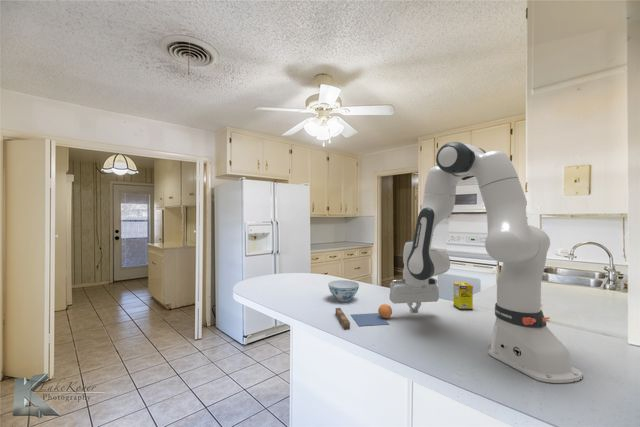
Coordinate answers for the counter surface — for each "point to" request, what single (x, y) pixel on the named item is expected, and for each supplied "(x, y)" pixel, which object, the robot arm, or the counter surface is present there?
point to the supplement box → (463, 296)
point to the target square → (369, 319)
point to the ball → (385, 311)
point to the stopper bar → (342, 318)
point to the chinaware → (343, 289)
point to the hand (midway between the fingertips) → (413, 312)
